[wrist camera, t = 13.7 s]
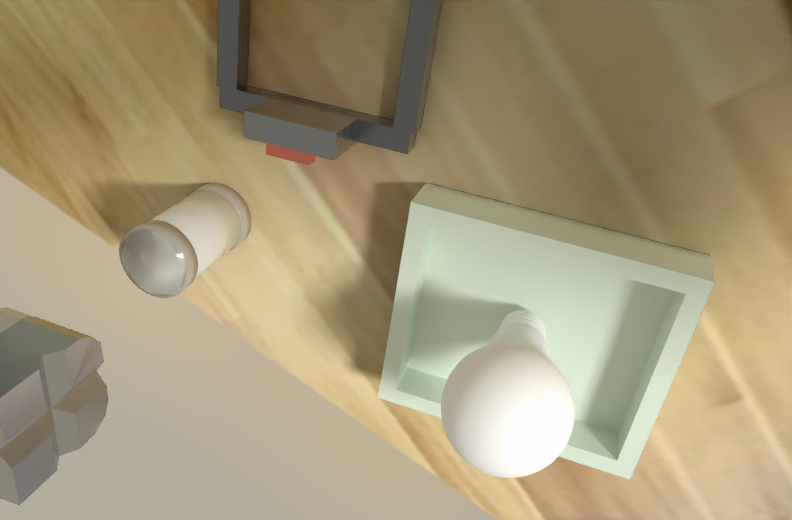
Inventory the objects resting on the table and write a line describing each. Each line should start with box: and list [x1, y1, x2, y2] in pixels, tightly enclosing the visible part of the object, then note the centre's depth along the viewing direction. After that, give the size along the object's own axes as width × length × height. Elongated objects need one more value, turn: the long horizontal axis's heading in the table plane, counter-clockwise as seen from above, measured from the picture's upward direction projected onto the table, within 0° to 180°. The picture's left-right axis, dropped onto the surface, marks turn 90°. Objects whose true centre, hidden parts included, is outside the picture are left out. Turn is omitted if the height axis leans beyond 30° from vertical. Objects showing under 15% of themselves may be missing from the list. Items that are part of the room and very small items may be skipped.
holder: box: [217, 0, 442, 165], centre depth 34 cm, size 11×12×4 cm
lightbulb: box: [441, 310, 575, 478], centre depth 34 cm, size 6×6×11 cm
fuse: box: [119, 183, 251, 298], centre depth 40 cm, size 4×4×7 cm
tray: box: [378, 183, 715, 479], centre depth 38 cm, size 15×13×3 cm
